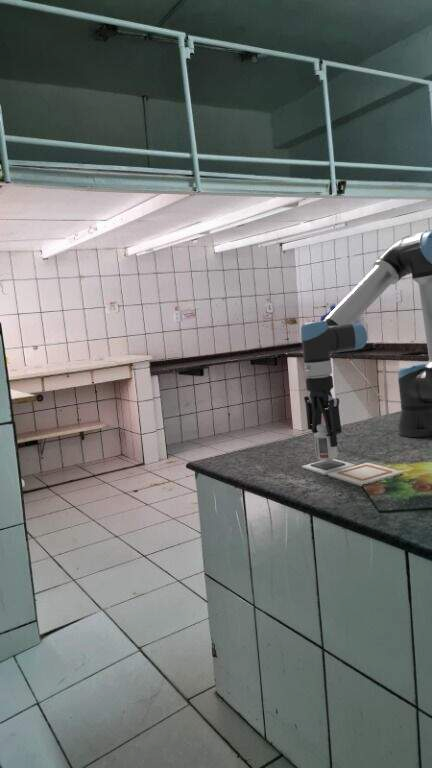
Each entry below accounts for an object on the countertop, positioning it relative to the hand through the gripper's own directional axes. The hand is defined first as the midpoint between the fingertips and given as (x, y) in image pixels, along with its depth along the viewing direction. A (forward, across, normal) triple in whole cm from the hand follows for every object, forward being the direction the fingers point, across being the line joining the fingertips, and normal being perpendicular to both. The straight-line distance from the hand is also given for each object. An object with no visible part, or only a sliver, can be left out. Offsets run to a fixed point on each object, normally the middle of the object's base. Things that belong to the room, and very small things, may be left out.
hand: (326, 455), depth 163 cm
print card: (+4, +14, +2) cm, 14 cm away
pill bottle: (+1, 0, 0) cm, 1 cm away
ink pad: (+4, 0, 0) cm, 4 cm away
